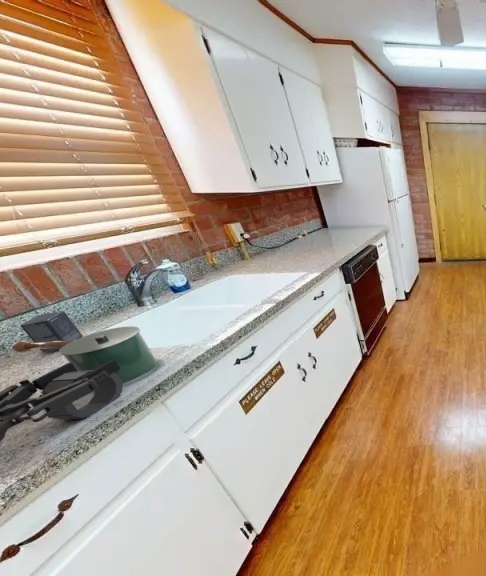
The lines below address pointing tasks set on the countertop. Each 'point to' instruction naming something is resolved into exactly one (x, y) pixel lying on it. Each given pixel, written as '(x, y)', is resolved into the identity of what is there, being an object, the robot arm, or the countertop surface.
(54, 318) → the box
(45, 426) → the countertop surface
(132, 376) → the saucepan
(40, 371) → the countertop surface
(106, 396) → the tire
